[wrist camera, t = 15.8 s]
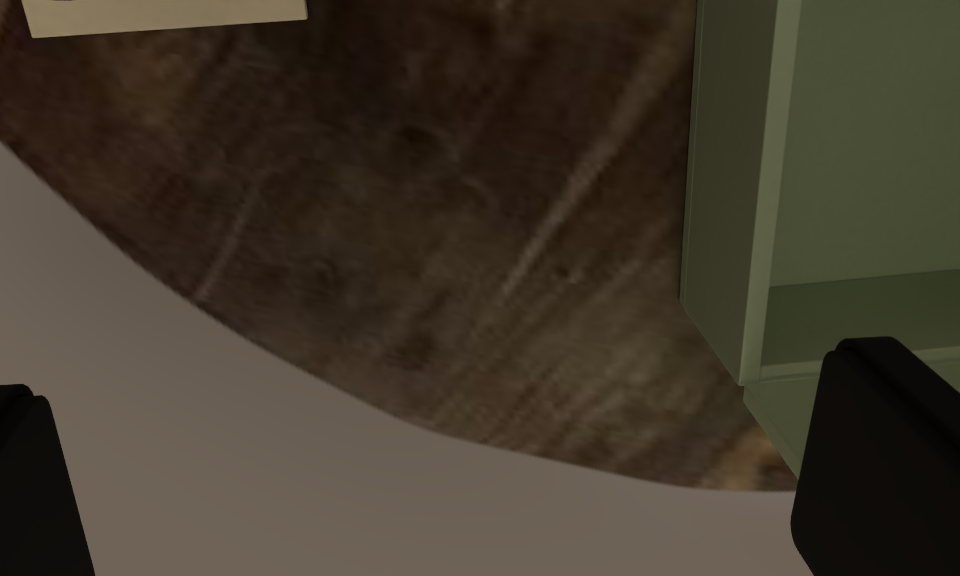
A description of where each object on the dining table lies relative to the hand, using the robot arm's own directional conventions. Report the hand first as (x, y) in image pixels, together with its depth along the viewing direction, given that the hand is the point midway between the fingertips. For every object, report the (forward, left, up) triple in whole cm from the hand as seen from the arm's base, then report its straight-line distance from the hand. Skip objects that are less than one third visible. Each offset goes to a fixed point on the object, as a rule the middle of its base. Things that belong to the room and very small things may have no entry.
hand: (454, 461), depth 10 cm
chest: (+4, +19, -25) cm, 32 cm away
